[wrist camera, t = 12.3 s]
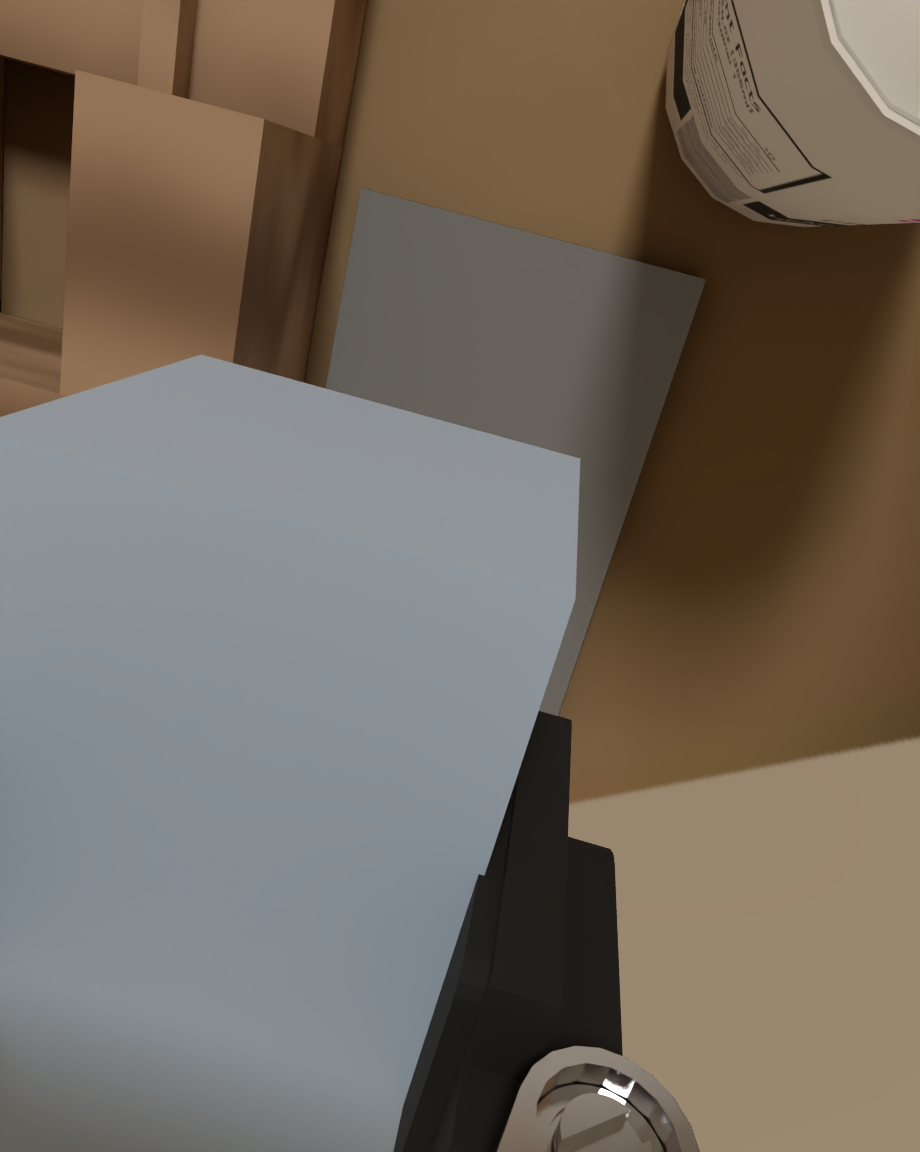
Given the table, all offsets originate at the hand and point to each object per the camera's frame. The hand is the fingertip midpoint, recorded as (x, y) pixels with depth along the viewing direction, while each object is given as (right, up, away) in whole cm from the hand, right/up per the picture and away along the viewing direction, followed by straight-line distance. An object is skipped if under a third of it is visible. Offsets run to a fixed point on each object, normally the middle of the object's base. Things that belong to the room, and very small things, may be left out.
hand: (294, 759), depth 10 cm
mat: (+2, +5, +20) cm, 21 cm away
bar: (0, -1, +2) cm, 2 cm away
